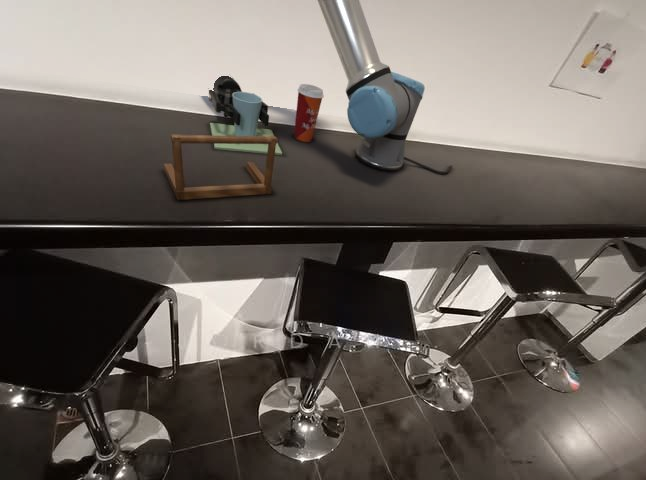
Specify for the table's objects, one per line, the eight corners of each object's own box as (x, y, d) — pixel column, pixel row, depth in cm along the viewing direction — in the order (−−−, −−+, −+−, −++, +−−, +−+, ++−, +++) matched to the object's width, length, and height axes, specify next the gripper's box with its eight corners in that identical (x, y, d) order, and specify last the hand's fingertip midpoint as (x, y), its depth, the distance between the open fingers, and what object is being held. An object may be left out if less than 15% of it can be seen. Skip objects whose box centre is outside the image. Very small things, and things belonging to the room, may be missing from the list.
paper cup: (306, 145, 103) (315, 94, 94) (285, 135, 105) (293, 84, 96) (319, 139, 109) (329, 91, 99) (299, 130, 111) (307, 82, 101)
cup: (256, 145, 94) (259, 104, 87) (228, 139, 93) (229, 97, 86) (260, 135, 100) (264, 96, 92) (234, 129, 99) (235, 89, 91)
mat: (271, 131, 105) (271, 129, 105) (282, 155, 95) (282, 153, 94) (209, 124, 99) (209, 122, 98) (214, 149, 89) (214, 146, 88)
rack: (252, 168, 86) (256, 115, 77) (271, 193, 79) (278, 138, 70) (164, 171, 76) (157, 110, 67) (177, 200, 69) (172, 136, 61)
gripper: (256, 104, 109) (285, 135, 97) (191, 100, 100) (214, 134, 87) (258, 78, 104) (289, 107, 91) (189, 71, 94) (214, 102, 82)
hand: (253, 120), depth 89 cm, fingers closed on cup, 7 cm apart
